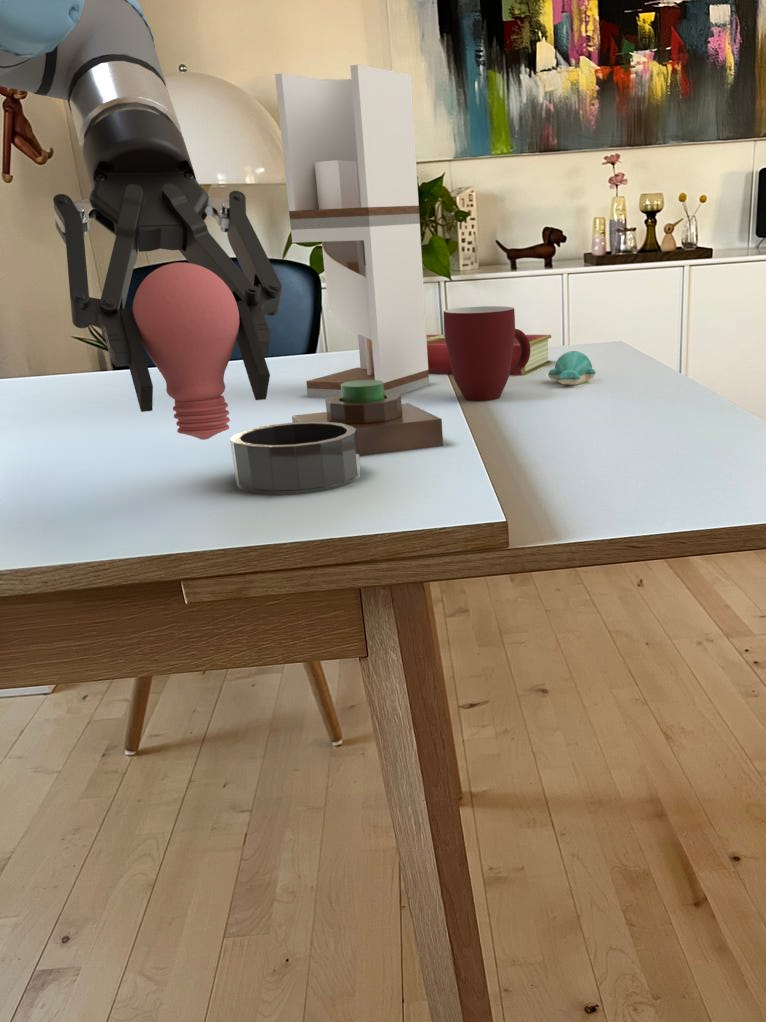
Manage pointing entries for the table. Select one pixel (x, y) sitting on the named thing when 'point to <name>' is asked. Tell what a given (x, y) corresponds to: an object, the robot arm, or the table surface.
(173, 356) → the light bulb
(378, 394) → the button
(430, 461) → the table surface
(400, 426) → the lamp base
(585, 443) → the table surface
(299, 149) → the white shelf unit
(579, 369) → the toy turtle
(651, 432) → the table surface
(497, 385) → the mug
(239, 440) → the lamp socket
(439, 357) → the hardcover book
